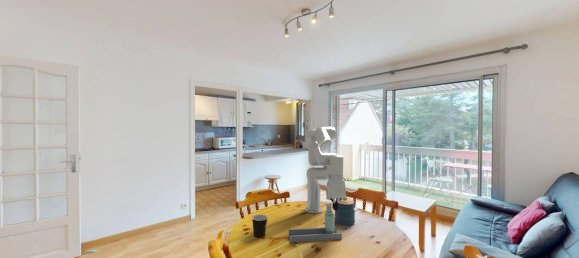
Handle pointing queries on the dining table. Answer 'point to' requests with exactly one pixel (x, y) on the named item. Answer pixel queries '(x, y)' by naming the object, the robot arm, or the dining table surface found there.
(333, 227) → the bottle
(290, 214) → the dining table surface
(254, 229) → the coffee mug
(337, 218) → the canister
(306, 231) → the u rest
